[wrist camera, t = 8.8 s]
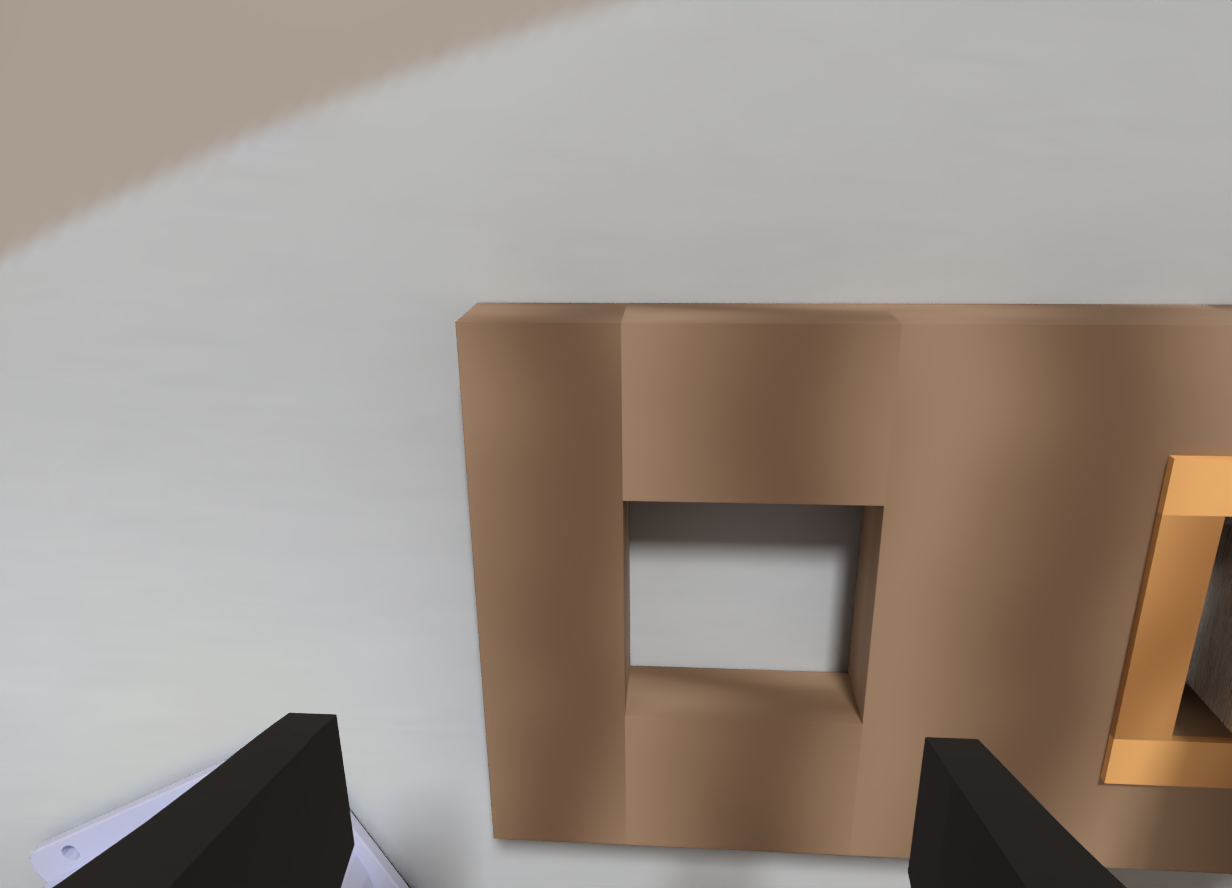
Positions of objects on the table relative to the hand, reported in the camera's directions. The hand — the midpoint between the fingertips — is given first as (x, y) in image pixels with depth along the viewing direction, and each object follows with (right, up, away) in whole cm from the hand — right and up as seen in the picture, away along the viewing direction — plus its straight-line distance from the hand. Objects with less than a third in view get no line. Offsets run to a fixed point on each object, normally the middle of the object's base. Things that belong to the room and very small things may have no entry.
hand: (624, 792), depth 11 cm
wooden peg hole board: (+9, +1, +10) cm, 13 cm away
